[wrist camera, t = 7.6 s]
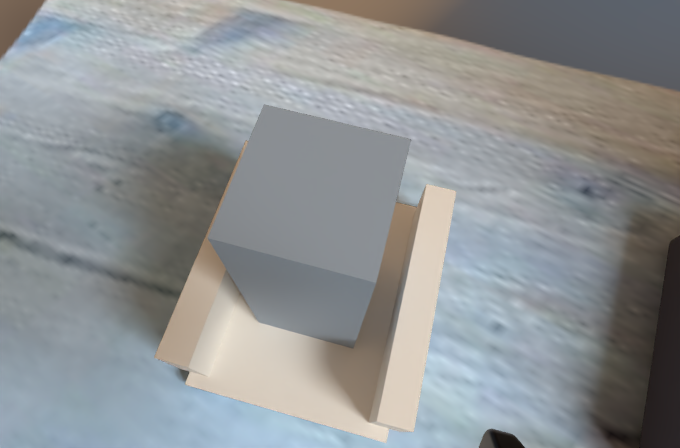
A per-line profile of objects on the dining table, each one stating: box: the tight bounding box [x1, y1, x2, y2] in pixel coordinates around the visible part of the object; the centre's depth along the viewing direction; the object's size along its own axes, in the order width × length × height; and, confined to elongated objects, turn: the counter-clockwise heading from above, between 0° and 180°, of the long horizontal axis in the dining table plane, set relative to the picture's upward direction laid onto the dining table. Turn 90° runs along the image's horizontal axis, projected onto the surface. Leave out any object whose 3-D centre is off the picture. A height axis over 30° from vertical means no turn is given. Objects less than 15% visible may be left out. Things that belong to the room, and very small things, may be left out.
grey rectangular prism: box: [208, 105, 411, 349], centre depth 15 cm, size 4×4×9 cm
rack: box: [154, 140, 456, 443], centre depth 18 cm, size 10×9×4 cm
